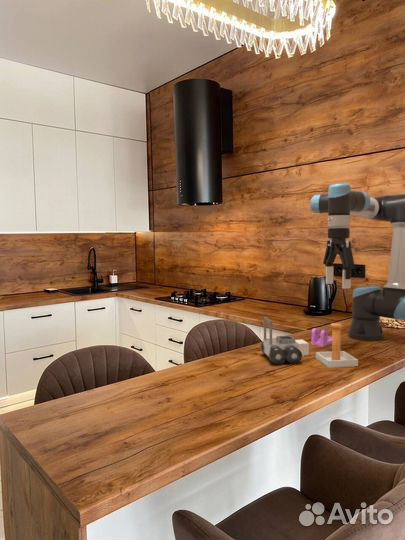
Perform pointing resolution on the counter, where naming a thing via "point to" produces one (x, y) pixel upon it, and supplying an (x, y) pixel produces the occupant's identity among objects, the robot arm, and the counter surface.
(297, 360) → the trolley
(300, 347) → the off-white matte cube
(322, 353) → the tray
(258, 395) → the counter surface
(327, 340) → the bracket
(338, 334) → the pin
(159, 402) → the counter surface
